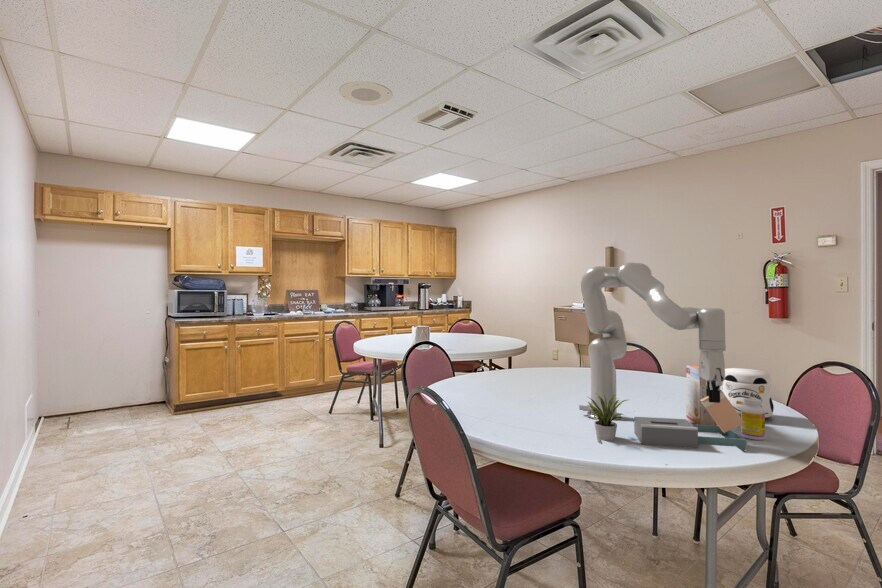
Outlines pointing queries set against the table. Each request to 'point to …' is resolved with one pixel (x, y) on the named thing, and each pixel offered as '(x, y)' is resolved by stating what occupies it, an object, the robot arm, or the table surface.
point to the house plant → (605, 419)
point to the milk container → (748, 388)
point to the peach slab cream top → (723, 413)
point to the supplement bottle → (753, 419)
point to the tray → (729, 439)
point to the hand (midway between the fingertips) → (713, 401)
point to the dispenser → (666, 432)
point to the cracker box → (697, 397)
